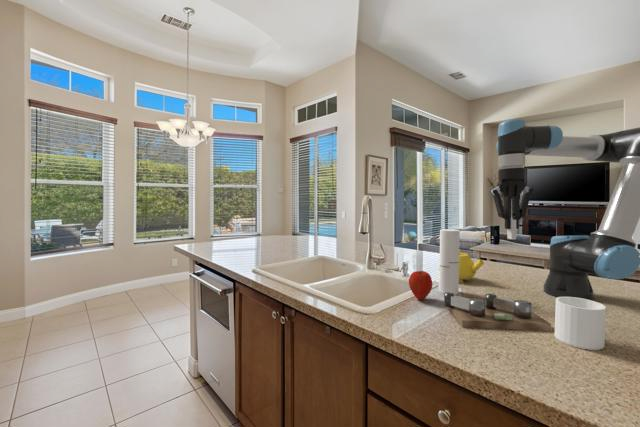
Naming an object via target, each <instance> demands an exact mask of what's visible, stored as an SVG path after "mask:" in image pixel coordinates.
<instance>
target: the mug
mask: <svg viewBox="0 0 640 427" xmlns="http://www.w3.org/2000/svg"><path fill="white" fill-rule="evenodd" d="M606 312H607V307H606V305H605V304H602V303H601V302H597V301H594V300H592V299H591V300H587V299H582V298H576V297H557V296H556V298H555V314H554V317H555V318H554V337H555V339H556V340H557V341H559V342H560V341H561V343H562V342H563V343H562V344H564V343H565V344H564V345H567V346H569V345H570V347H572V346H573V348H576V347H577V348H576V349H580V348H582V349H581V350H585V349H588V350H587V351H600V349H601V350H603V349H604V348H605V337H606V335H605V334H606V319H607V318H606V317H607V316H606V315H607V313H606Z"/></svg>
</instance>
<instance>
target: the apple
mask: <svg viewBox="0 0 640 427" xmlns="http://www.w3.org/2000/svg"><path fill="white" fill-rule="evenodd" d="M408 286H409V288H410V291H411V293H412V295H414V297H415V298H416V299H417V300H418V301H423V300H425V299H426V298H427V297H428V296H429V294H430V293H431V291H432V289H433V280H432V277H431V275H430V274H429V273H428V272H427V271H425V270H417V271H413V272H412V273H411V274H410V275H409V279H408Z"/></svg>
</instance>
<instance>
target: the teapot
mask: <svg viewBox="0 0 640 427" xmlns="http://www.w3.org/2000/svg"><path fill="white" fill-rule="evenodd" d="M484 264H485V261H484V260H483V259H480V258H479V259H478V260H477V261H476V262H473V260H472V258H471V257H470V255H469V254H467V253H463V252H462V250H461V249H459V284H462V283H464V281H463V280H465V281H472V278H473V277H474V276H476V272H477V271H478V270H479V269H480V268H481V267H482V266H483V265H484ZM439 268H440V264H439V265H438V269H439Z"/></svg>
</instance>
